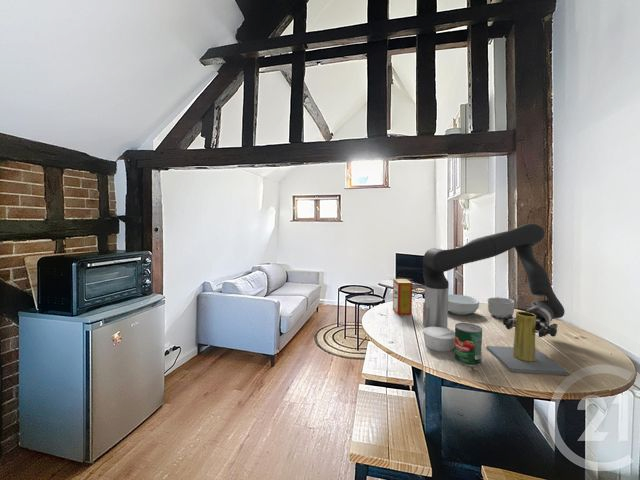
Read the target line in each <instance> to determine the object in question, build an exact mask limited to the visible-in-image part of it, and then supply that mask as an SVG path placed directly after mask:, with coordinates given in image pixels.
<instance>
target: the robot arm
mask: <svg viewBox="0 0 640 480" xmlns="http://www.w3.org/2000/svg"><path fill="white" fill-rule="evenodd" d="M545 234H546V232H545V229H544V228H543V226H542V227H541V226H540V225H539V224H536V223H526V224H523V225H521V226H518V227H515V228H512V229H510V230H507V231H501V232H497V233H494V234H489V235H484V236H482V237H477V238H475V239H472V240H469V241H468V242H467V243H465V244H464V245H462V246H458V247H456V248H449V249H442V248H441V249H440V248H433V247H432V248H429V249H428V250H426V252H425V253H424V255H423V258H422V265H423V266H422V268H423V269H422V273H423V274H422V275H423V280H424V301H423V303H422V307H423V308H422V324H423V326H424V328H427V327H442V328H446V329H448V323H449V322H448V319H449V317H448V316H449V311H448V295H449V286H450V284H449V283H450V282H449V280H448V279H447V278H446V276H445V273H446V272H448V271H451V270H453V269H455V268H458V267H460V266H463V265H466V264H469V263H475V262H478V261H484V260H487V259H491V258H493V257H496V256H499V255H501V254H503V253H505V252H508V251H510V250H511V249H513V248H514V249H515V251H516V254H517V255H518V258H519V260H520V262H521V265H522V266H523V269H524V272H525V275H526V279H527V282H528V285H529V290H530V292H531V294H532V295H534V296H541V297H547V299H546V300H538V301H532V302H531V303H530V305H529V308H528V309H526V311H525V310H524V312H529V313H532V314H535V315H536V325H535V334H536V333H538V337H539V338H544V337H546V336H548V335H550V336H551V337H556V336H557V334H558V324H556V323H552V324H551V322H552V321H553V319H560V318H563V317H564V315H565V314H566V311H565V308H564V306H563V304H562V303H561V301H560V300H559V298H558V296H556V294H555V292H554V290H553V286H552V285H551V281H550V278H549V274H548V272H547V270H546V269H545V268H544V266H542V264H541V263H539V262H538V260H537V258H536V257H535V255H534V250H533V247H534V246H535V245H537V244H539V243H540V242H542V241H543V239H544V237H545ZM513 315H514V314H513ZM513 315H507V316H505V317H503V318H502V325H503V326H505V329H506V330H509V331H510V330H512V328H515V323H516V316H515V317H514V316H513Z"/></svg>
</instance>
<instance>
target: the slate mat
mask: <svg viewBox="0 0 640 480" xmlns="http://www.w3.org/2000/svg"><path fill="white" fill-rule="evenodd" d="M486 350H487V351H488V352H489V353H490V354H491V355H493V357H494V358H495V359H496V360H497V361H499V362H500V363H501V364H502V365H503V366H504V368H506V369H507V370H508V371H509V372H510V373H511V372H512V373H525V374H542V375H543V374H546V375H560V376H561V375H563V376H569V375H570V372H569V371H568V370H567V369H565V367H563V366H561V365H560V364H558V363H557V362H556V361H555V360H553V359H552V358H550V357H548V356H547V355H546V354H545V353H543V352H542V351H540V350H539V349H537V348H536V347H535V358H536V360H535V361H531V362H530V361H523V360H520V359H517V358H515V357H514V356H513V351H514V346H499V345H498V346H497V345H496V346H495V345H486Z"/></svg>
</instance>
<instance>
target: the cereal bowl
mask: <svg viewBox="0 0 640 480" xmlns="http://www.w3.org/2000/svg"><path fill="white" fill-rule="evenodd" d="M479 307H480V300H479V299H477V298H475V297H472V296H468V295H463V294H454V293H453V294H448V312H450V313H451V314H453V315H458V316H465V315H466V316H467V315H469V314H473V313H475V312H477V310H478V309H479Z"/></svg>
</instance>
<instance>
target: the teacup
mask: <svg viewBox="0 0 640 480" xmlns="http://www.w3.org/2000/svg"><path fill="white" fill-rule="evenodd" d="M486 301H487V309H488V312H489V314H491V315H492V317H494V316H495V317H494V318H498V319H499V318H500V319H503V317H505V316H507V315H514V314H515V301H514V300H513V299H510V298H506V297H500V296H496V297H489V298H487V300H486Z"/></svg>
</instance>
